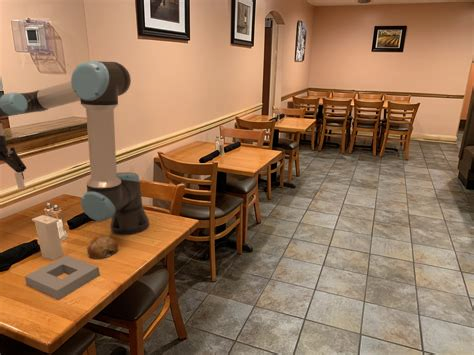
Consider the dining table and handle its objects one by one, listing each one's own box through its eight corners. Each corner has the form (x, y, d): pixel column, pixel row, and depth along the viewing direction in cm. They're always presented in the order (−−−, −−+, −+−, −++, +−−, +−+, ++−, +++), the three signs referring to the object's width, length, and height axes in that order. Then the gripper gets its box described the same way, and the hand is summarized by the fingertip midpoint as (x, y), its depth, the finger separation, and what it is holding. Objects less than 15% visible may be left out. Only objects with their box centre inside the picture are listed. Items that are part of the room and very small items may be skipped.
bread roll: (98, 270, 121) (101, 253, 117) (79, 252, 125) (82, 236, 121) (121, 257, 129) (125, 241, 125) (103, 241, 133) (106, 225, 129)
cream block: (50, 250, 128) (42, 212, 124) (65, 256, 124) (58, 217, 120) (39, 255, 125) (31, 216, 121) (55, 261, 121) (46, 221, 116)
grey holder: (67, 263, 119) (66, 255, 118) (99, 275, 111) (98, 266, 110) (26, 284, 108) (24, 276, 107) (58, 299, 100) (57, 290, 99)
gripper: (13, 135, 143) (26, 186, 146) (-50, 140, 119) (-33, 201, 122) (28, 133, 141) (40, 184, 144) (-33, 137, 117) (-17, 199, 120)
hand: (6, 192), depth 133 cm, fingers open, 13 cm apart
